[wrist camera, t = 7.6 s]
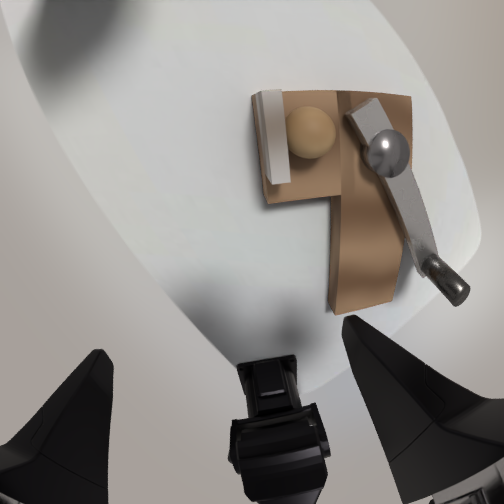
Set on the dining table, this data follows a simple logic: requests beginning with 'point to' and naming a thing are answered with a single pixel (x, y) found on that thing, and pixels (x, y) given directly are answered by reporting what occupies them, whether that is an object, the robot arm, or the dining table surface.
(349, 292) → the board
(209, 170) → the dining table surface
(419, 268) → the lever
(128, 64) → the dining table surface
